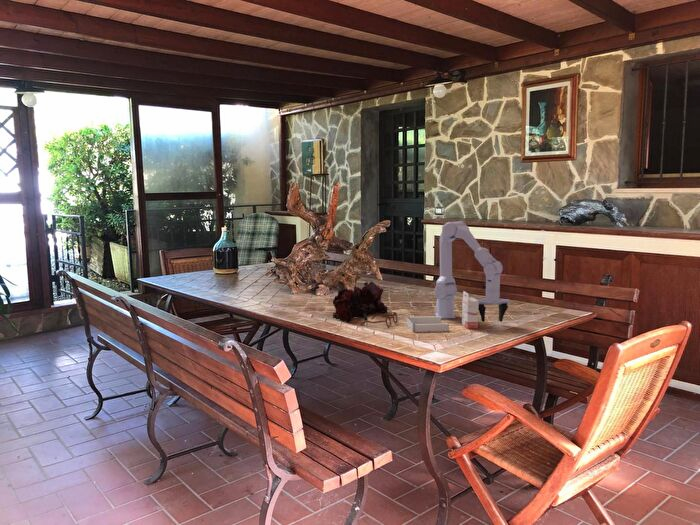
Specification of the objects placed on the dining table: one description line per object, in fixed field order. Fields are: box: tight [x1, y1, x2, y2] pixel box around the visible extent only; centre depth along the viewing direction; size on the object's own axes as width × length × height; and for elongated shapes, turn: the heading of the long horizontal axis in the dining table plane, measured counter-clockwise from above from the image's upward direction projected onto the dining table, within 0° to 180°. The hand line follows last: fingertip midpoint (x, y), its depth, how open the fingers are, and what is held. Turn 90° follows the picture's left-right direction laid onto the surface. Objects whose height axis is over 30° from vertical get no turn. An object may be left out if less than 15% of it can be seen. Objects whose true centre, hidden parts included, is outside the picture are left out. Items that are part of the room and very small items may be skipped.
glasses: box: [359, 311, 398, 328], centre depth 238 cm, size 13×13×5 cm
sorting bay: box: [406, 315, 450, 333], centre depth 230 cm, size 14×15×3 cm
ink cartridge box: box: [461, 290, 479, 329], centre depth 231 cm, size 9×5×15 cm, turn 4°
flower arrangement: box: [332, 281, 388, 323], centre depth 254 cm, size 31×20×15 cm, turn 142°
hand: (491, 321), depth 232 cm, fingers open, 7 cm apart
